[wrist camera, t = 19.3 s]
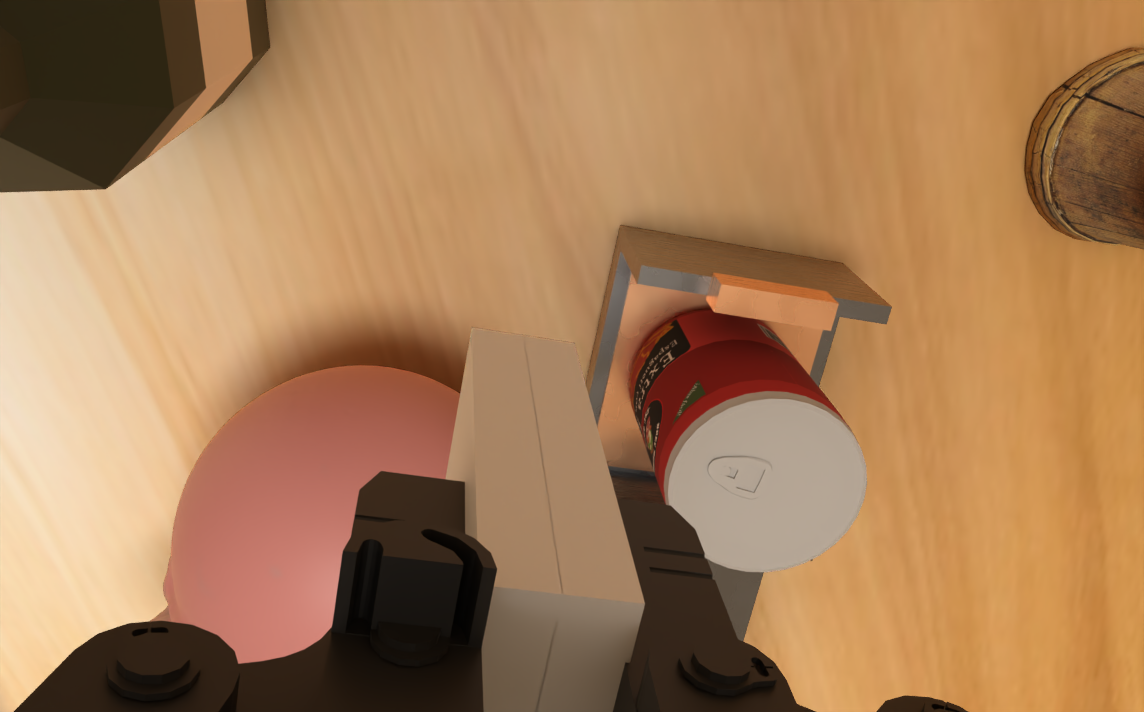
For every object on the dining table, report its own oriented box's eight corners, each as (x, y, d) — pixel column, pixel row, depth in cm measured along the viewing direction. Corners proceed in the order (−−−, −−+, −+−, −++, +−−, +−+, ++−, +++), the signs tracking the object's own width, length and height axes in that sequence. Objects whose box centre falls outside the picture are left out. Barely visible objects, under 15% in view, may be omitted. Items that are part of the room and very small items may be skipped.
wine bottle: (242, 139, 48) (-65, 438, 20) (46, 68, 46) (-594, 287, 18) (298, -50, 45) (36, -10, 17) (93, -133, 43) (-569, -239, 15)
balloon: (67, 419, 52) (-84, 608, 37) (460, 268, 51) (459, 402, 36) (218, 665, 57) (138, 909, 43) (574, 533, 56) (612, 738, 42)
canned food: (635, 298, 50) (679, 392, 40) (803, 308, 51) (887, 402, 41) (617, 448, 53) (654, 572, 43) (777, 455, 54) (850, 577, 44)
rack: (620, 220, 51) (648, 272, 43) (843, 259, 52) (907, 314, 45) (526, 658, 59) (535, 765, 51) (720, 679, 61) (757, 785, 53)
